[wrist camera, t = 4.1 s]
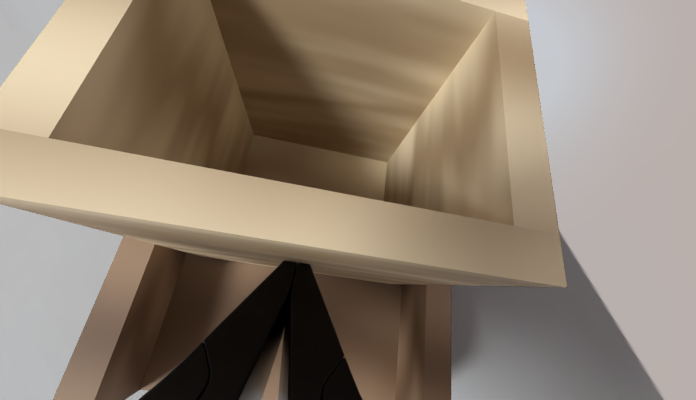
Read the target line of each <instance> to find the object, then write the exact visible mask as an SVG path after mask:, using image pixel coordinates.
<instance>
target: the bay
mask: <svg viewBox="0 0 696 400" xmlns="http://www.w3.org/2000/svg"><path fill="white" fill-rule="evenodd" d="M276 268H277V267H271V266H264V265H257V264H250V263H243V262H237V261H230V260H223V259H216V258H210V257H203V256H198V255H194V254H191V253H187V252H183V251H179V250H175V249H171V248H167V247H164V246H160V245H156V244H152V243H148V242H144V241H141V240H137V239H133V238H129V237H125V236H124V237H123V239H122V241H121V244H120V246H119V248H118V251H117V253H116V255H115V258H114V260H113V262H112V264H111V267H110V269H109V271H108V274H107V276H106V278H105V281H104V283H103V285H102V287H101V290H100V292H99V294H98V297H97V299H96V301H95V304H94V306H93V308H92V311H91V313H90V315H89V317H88V320H87V322H86V324H85V327H84V329H83V331H82V334H81V336H80V338H79V341H78V343H77V345H76V347H75V350H74V352H73V354H72V357H71V359H70V361H69V364H68V366H67V368H66V370H65V373H64V375H63V377H62V380H61V382H60V384H59V387H58V389H57V391H56V394H55V396H54V398H53V400H125V399H126V398H128V397H129V396H131V395H132V394H134V393H135V392H137V391H139V390H150V389H152V388H153V387H154V386H155V385H156V384H157V383H158V382H160V381H161V380H162V379H163V378H164V377H165V376H167V375H168V374H169V373H170V372H171V371H172V370H173V369H174V368H175V367H176V366H177V365H178V364H179V363H180V362H181V361H182V360H183V359H185V358H186V357H187V356H188V355H189V354H190V353H191V352H192V351H193V350H194V349H195V348H196V347H197V346H198V345H199V344H200V343H203V340H204V339H205V338H206V337H207V336H208V335H209V334H210V333H211V332H212V331H213V330H214V329H215V328H216V327H217V326H218V325H219V324H220V323H221V322H222V321H223V320H224V319H225V318H226V317H227V316H228V315H229V314H230V313H231V312H232V311H233V310H234V309H235V308H236V307H237V306H238V305H239V304H240V303H241V302H242V301H243V300H244V299H245V298H246V297H247V296H248V295H249V294H251V293H252V292H253V291H254V290H255V289H256V288H257V287H258V286H259V285H260V284H261V283H262V282H263V281H264V280H265V279H266V278H267V277H268V276H269V275H270V274H271V273H272V272H273V271H274V270H275V269H276ZM314 275H315V278H316V281H317V283H318V286H319V289H320V291H321V294H322V297H323V299H324V302H325V305H326V307H327V310H328V313H329V315H330V318H331V321H332V323H333V326H334V329H335V331H336V334H337V336H338V339H339V342H340V344H341V347H342V350H343V352H344V355H345V356H344V358H346V360H347V363H348V365H349V368H350V371H351V373H352V376H353V378H354V380H355V383H356V385H357V388H358V390H359V393H360V395H361V397H362V399H363V400H451V285H411V284H386V283H379V282H372V281H365V280H359V279H352V278H345V277H338V276H331V275H325V274H318V273H314ZM284 329H285V328H284ZM283 335H284V332H283ZM282 344H283V336H282V339H281V342H280V346H279V349H278V352H277V355H276V358H275V361H274V364H273V367H272V370H271V373H270V376H269V379H268V382H267V385H266V388H265V391H264V394H263V397H262V400H278V391H279V379H280V368H281V356H282Z"/></svg>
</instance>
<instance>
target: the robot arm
mask: <svg viewBox="0 0 696 400" xmlns="http://www.w3.org/2000/svg"><path fill="white" fill-rule="evenodd" d="M284 328H285V329H284ZM283 332H284V335H283ZM282 336H283V344H282V356H281V368H280V379H279V391H278V400H363V399H362V397H361V395H360V393H359V390H358V388H357V385H356V383H355V380H354V378H353V376H352V373H351V371H350V368H349V365H348V363H347V360H346V358H344V356H345V355H344V352H343V350H342V347H341V344H340V342H339V339H338V336H337V334H336V331H335V329H334V326H333V323H332V321H331V318H330V315H329V313H328V310H327V307H326V305H325V302H324V299H323V297H322V294H321V291H320V289H319V286H318V283H317V281H316V278H315V275H314V273H313V270H312V267H311V265H310V264H305V263H296V262H292V261H286V260H285V261H283V262H282V263H281V264H280V265H279V266H278V267H277V268H276V269H275V270H274V271H273V272H272V273H271V274H270V275H269V276H268V277H267V278H266V279H265V280H264V281H263V282H262V283H261V284H260V285H259V286H258V287H257V288H256V289H255V290H254V291H253V292H252V293H251V294H249V295H248V296H247V297H246V298H245V299H244V300H243V301H242V302H241V303H240V304H239V305H238V306H237V307H236V308H235V309H234V310H233V311H232V312H231V313H230V314H229V315H228V316H227V317H226V318H225V319H224V320H223V321H222V322H221V323H220V324H219V325H218V326H217V327H216V328H215V329H214V330H213V331H212V332H211V333H210V334H209V335H208V336H207V337H206V338H205V339H204V340H203V343H200V344H199V345H198V346H197V347H196V348H195V349H194V350H193V351H192V352H191V353H190V354H189V355H188V356H187V357H186V358H185V359H183V360H182V361H181V362H180V363H179V364H178V365H177V366H176V367H175V368H174V369H173V370H172V371H171V372H170V373H169V374H168V375H167V376H165V377H164V378H163V379H162V380H161V381H160V382H158V383H157V384H156V385H155V386H154V387H153V388H152V389H150V390H149V391H148V392H147V393H146V394H145V395H143V396H142V397H141V398H140V399H139V400H262V397H263V394H264V391H265V388H266V385H267V382H268V379H269V376H270V373H271V370H272V367H273V364H274V361H275V358H276V355H277V352H278V349H279V346H280V342H281V339H282Z"/></svg>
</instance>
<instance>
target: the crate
mask: <svg viewBox="0 0 696 400" xmlns="http://www.w3.org/2000/svg"><path fill="white" fill-rule="evenodd" d="M548 160H549V159H548V152H547V146H546V139H545V132H544V126H543V119H542V111H541V105H540V98H539V91H538V84H537V78H536V71H535V64H534V57H533V50H532V44H531V37H530V30H529V23H528V16H527V10H526V3H525V0H65V1H64V3H63V4H62V5H61V7H60V8H59V9H58V11H57V12H56V13H55V15H54V16H53V17H52V19H51V20H50V21H49V23H48V24H47V25H46V27H45V28H44V29H43V31H42V32H41V33H40V35H39V36H38V37H37V39H36V40H35V42H34V43H33V44H32V46H31V47H30V48H29V50H28V51H27V52H26V54H25V55H24V56H23V58H22V59H21V60H20V62H19V63H18V64H17V66H16V67H15V68H14V70H13V71H12V72H11V74H10V75H9V76H8V78H7V79H6V80H5V82H4V83H3V84H2V86H1V87H0V204H2V205H6V206H10V207H14V208H18V209H21V210H25V211H29V212H33V213H37V214H41V215H45V216H48V217H52V218H56V219H60V220H64V221H68V222H71V223H75V224H79V225H83V226H87V227H91V228H94V229H98V230H102V231H106V232H110V233H114V234H118V235H121V236H125V237H129V238H133V239H137V240H141V241H144V242H148V243H152V244H156V245H160V246H164V247H167V248H171V249H175V250H179V251H183V252H187V253H191V254H194V255H198V256H203V257H210V258H216V259H223V260H230V261H237V262H243V263H250V264H257V265H264V266H271V267H278V266H279V265H280V264H281V263H282V262H283V261H285V260H286V261H292V262H296V263H305V264H310V265H311V267H312V270H313V273H318V274H325V275H331V276H338V277H345V278H352V279H359V280H365V281H372V282H379V283H386V284H411V285H463V286H514V287H566V288H567V282H566V276H565V269H564V262H563V255H562V248H561V241H560V234H559V228H558V221H557V214H556V208H555V201H554V193H553V187H552V180H551V173H550V166H549V161H548Z"/></svg>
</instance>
